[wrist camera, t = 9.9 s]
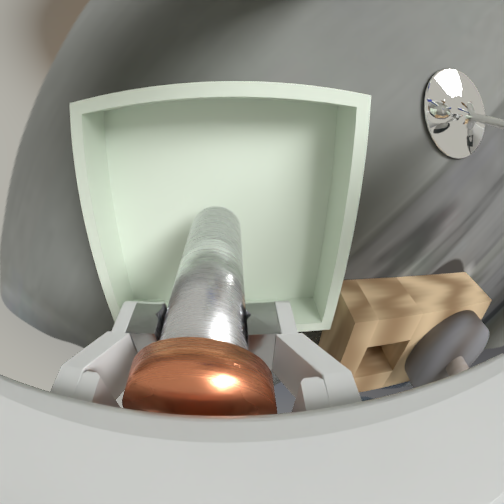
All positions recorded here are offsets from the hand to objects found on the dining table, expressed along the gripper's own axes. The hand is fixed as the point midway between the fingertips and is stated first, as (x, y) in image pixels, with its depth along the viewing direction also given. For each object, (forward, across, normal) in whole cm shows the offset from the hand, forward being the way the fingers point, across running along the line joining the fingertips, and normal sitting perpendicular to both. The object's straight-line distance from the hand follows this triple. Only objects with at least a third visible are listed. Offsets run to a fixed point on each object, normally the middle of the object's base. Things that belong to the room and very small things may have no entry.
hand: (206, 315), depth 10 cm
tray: (+10, 0, 0) cm, 10 cm away
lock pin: (+7, 0, 0) cm, 7 cm away
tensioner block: (+10, -17, +11) cm, 23 cm away
